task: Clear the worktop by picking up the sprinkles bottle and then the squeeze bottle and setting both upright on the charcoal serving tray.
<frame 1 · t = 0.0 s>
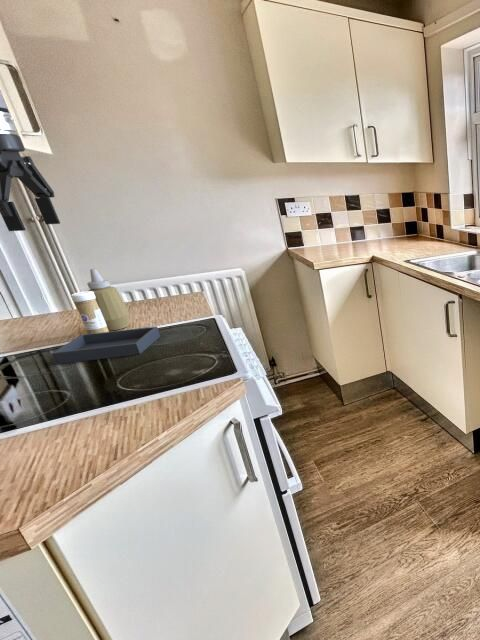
hand: (36, 227, 105), 31 cm above the worktop, tool pointing down, fingers open, 13 cm apart
squeeze bottle: (117, 328, 127), on the worktop
serving tray: (112, 349, 112), on the worktop
sprinkles bottle: (101, 339, 120), on the worktop
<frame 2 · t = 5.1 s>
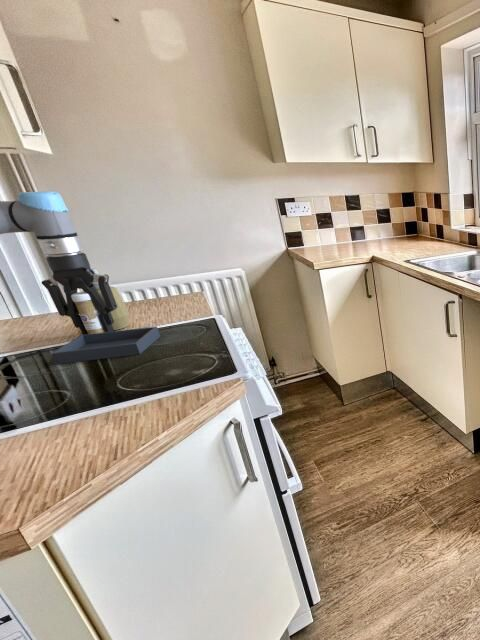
hand: (100, 336, 119), 1 cm above the worktop, tool pointing down, fingers closed on sprinkles bottle, 4 cm apart
sprinkles bottle: (101, 339, 120), on the worktop, touching gripper
everything else where it was.
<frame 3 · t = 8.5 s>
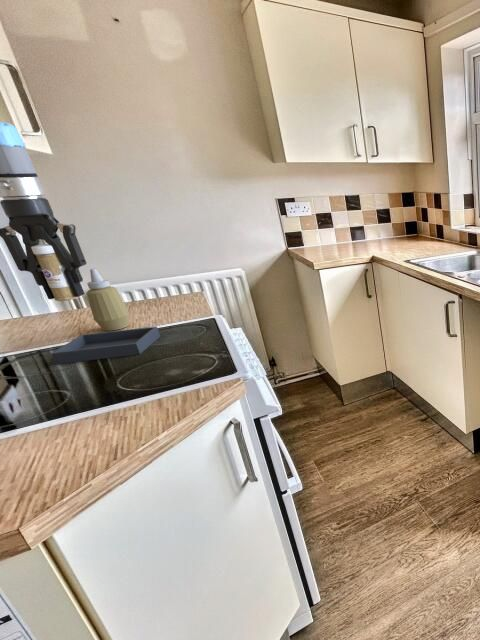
hand: (66, 296, 105), 15 cm above the worktop, tool pointing down, fingers closed on sprinkles bottle, 4 cm apart
sprinkles bottle: (68, 299, 105), point 14 cm above the worktop, touching gripper
everything else where it was.
when the fingers open (1 cm above the worktop, at t = 11.8 s): sprinkles bottle stays where it is, resting on serving tray.
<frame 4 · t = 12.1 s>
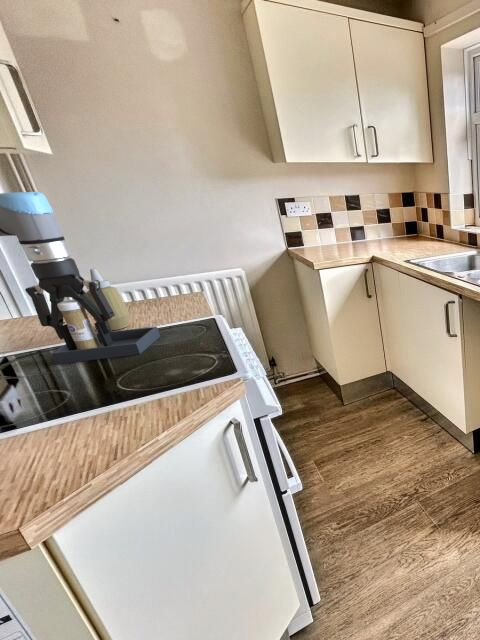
hand: (91, 346, 110), 1 cm above the worktop, tool pointing down, fingers open, 7 cm apart
sprinkles bottle: (91, 350, 111), resting on serving tray
everything else where it was.
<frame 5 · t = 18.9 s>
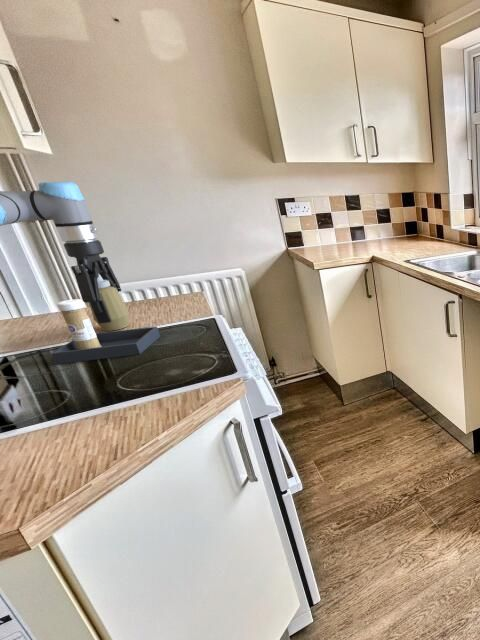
hand: (112, 317, 126), 3 cm above the worktop, tool pointing down, fingers closed on squeeze bottle, 8 cm apart
squeeze bottle: (117, 328, 127), on the worktop, touching gripper
everything else where it was.
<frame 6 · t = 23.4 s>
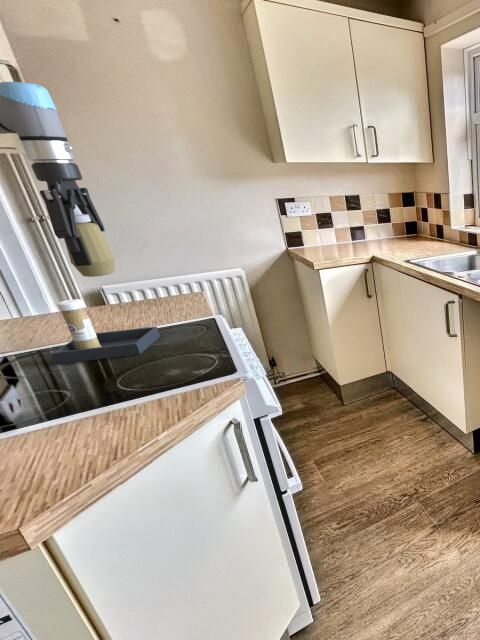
hand: (93, 261, 104), 23 cm above the worktop, tool pointing down, fingers closed on squeeze bottle, 8 cm apart
squeeze bottle: (99, 275, 106), point 20 cm above the worktop, touching gripper
everything else where it was.
when the fingers open (4 cm above the worktop, at t = 28.0 s): squeeze bottle stays where it is, resting on serving tray.
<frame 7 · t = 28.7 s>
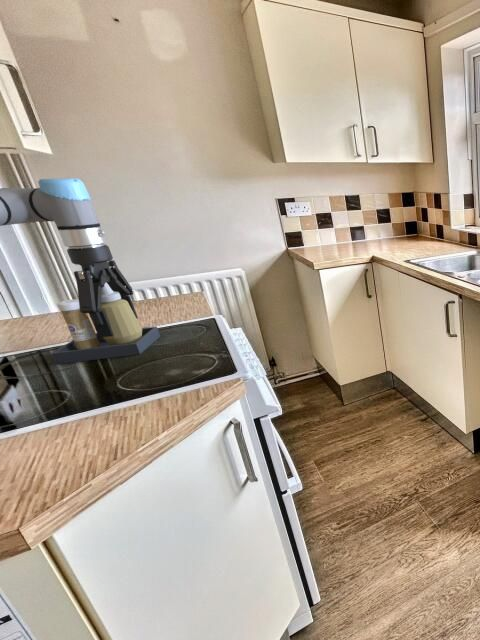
hand: (119, 327, 111), 6 cm above the worktop, tool pointing down, fingers open, 13 cm apart
squeeze bottle: (128, 346, 113), resting on serving tray
everything else where it was.
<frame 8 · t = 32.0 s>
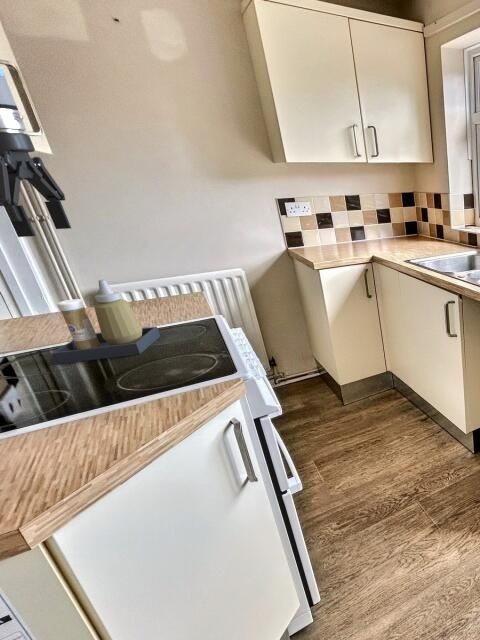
hand: (46, 232, 99), 31 cm above the worktop, tool pointing down, fingers open, 13 cm apart
nothing on the worktop moved.
at the end: sprinkles bottle inside the target area in the serving tray (4.4 cm from its centre), point 0.3 cm above the serving tray's base; squeeze bottle inside the target area in the serving tray (3.6 cm from its centre), point 0.3 cm above the serving tray's base; sprinkles bottle tilted 0° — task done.
